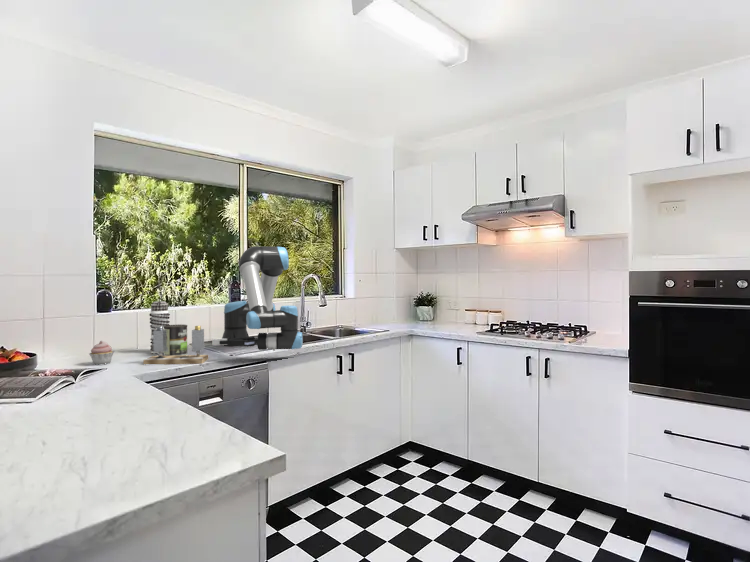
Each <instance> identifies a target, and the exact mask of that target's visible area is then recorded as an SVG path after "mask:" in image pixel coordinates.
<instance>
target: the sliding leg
mask: <svg viewBox="0 0 750 562" xmlns="http://www.w3.org/2000/svg"><path fill="white" fill-rule="evenodd" d="M204 350H205V329H204V328H202V325H195V326H194V329H192V330H191V351H192V352H195V353H196V354H195V355H196V356H200V355H201V352H203V351H204Z"/></svg>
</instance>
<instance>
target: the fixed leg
mask: <svg viewBox="0 0 750 562" xmlns="http://www.w3.org/2000/svg"><path fill="white" fill-rule="evenodd" d="M153 347H154V352H158V355H157V356H158V358H162V356H163V353H162V352H163V351H166V350H167V337H166V330H163V326H158V327H157V330H155V331H153Z"/></svg>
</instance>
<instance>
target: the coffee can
mask: <svg viewBox="0 0 750 562" xmlns="http://www.w3.org/2000/svg"><path fill="white" fill-rule="evenodd" d="M164 330H166V337H167V350H166V351H164V353H163V356H175V355H188V324H169V325H166V326H164Z"/></svg>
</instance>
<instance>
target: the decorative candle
mask: <svg viewBox="0 0 750 562" xmlns="http://www.w3.org/2000/svg"><path fill="white" fill-rule="evenodd" d="M170 315H171V314H170V313H169V303H167V302H166V301H164V300H162V301H161V300H160V301H157V300H156V301H152V303H151V304H150V313H149V314H148V316H149V324H150V325H149V327H150V330H151V332H150V339H149V340H150V341H149V342H150V345H149V346H150V349H149V350H150V354H152V353H158V352H154V347H153V331H155V330H157V327H158V326H163V330H164V326H166V325H170V321H169V320H170V318H171V317H170ZM162 354H164V351H163V352H162Z"/></svg>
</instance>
